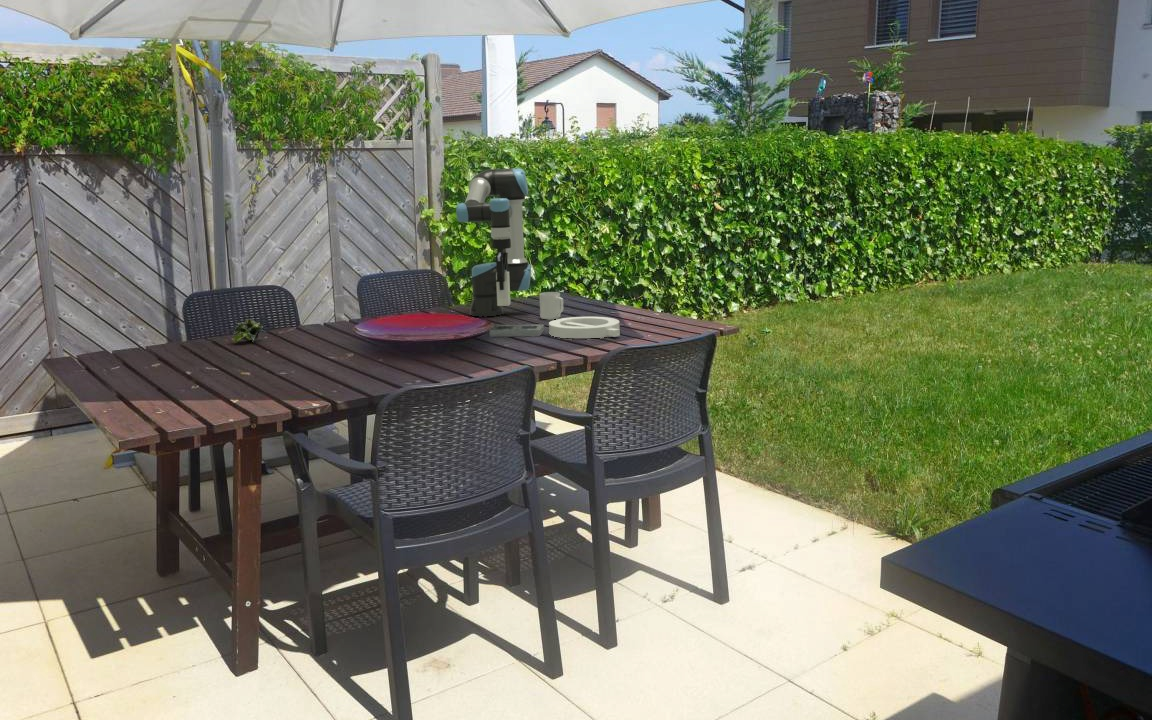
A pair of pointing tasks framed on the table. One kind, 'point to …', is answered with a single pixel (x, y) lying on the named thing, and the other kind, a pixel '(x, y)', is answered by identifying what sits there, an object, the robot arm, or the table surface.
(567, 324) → the white circle with bar
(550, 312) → the mug
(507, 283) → the white tall block
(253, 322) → the green leafy plant
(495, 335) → the panel
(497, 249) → the robot arm
